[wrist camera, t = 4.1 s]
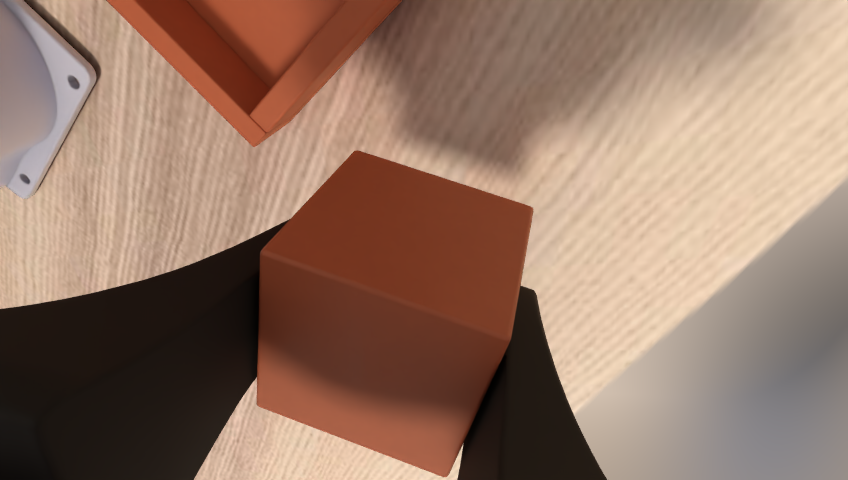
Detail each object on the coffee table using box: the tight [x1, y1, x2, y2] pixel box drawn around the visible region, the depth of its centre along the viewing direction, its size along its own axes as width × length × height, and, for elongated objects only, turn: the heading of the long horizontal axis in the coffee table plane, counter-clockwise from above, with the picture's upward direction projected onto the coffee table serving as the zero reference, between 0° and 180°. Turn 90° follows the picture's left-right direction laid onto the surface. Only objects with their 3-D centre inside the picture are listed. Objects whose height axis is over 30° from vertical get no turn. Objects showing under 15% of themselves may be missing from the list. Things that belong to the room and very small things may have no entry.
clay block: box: [257, 151, 533, 477], centre depth 12 cm, size 4×4×4 cm
